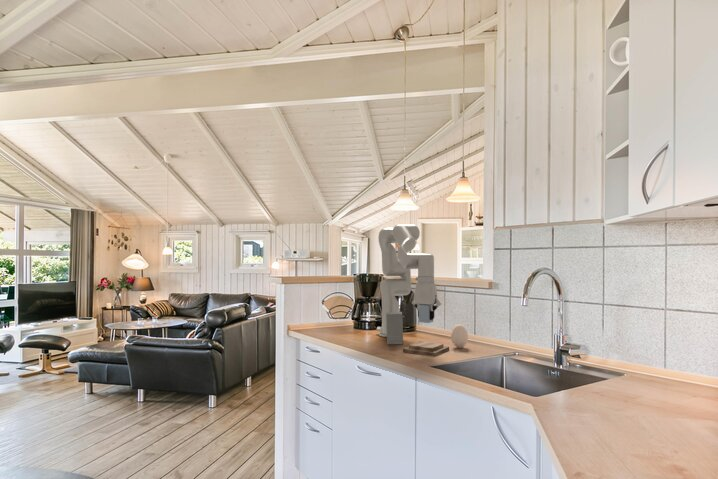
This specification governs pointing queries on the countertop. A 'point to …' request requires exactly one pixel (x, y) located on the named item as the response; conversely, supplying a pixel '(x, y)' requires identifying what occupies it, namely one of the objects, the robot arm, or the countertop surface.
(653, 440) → the countertop surface
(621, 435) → the countertop surface
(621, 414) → the countertop surface
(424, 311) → the slate block
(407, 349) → the pedestal
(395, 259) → the robot arm
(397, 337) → the skincare box
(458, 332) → the egg
